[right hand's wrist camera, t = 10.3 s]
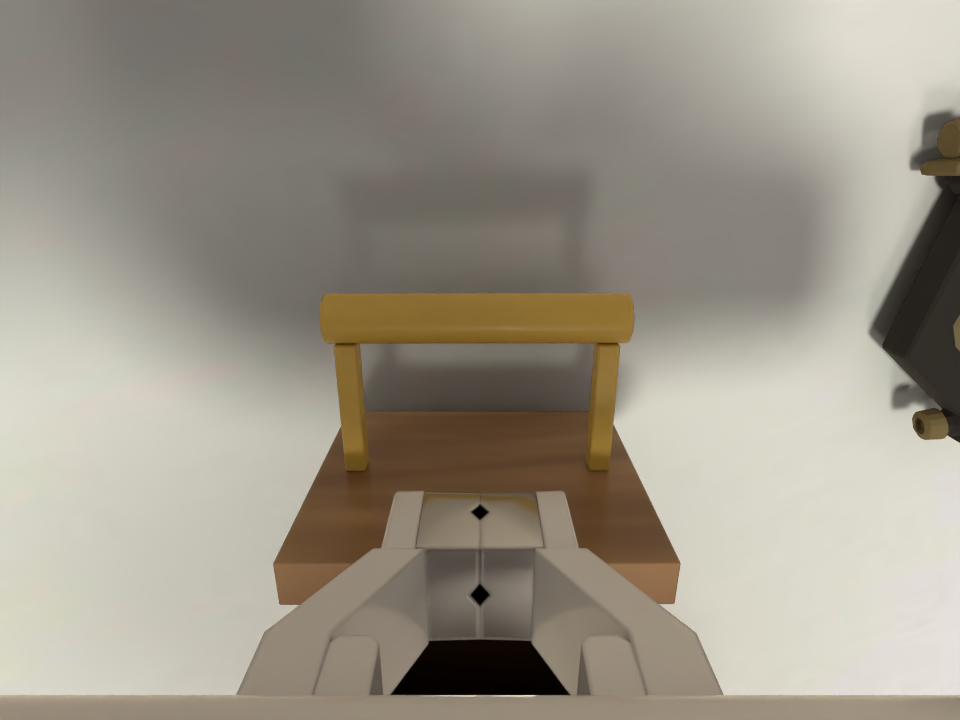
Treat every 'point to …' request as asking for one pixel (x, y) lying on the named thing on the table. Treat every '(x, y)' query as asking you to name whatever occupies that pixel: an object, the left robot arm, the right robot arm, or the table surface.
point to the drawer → (476, 464)
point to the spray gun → (935, 310)
